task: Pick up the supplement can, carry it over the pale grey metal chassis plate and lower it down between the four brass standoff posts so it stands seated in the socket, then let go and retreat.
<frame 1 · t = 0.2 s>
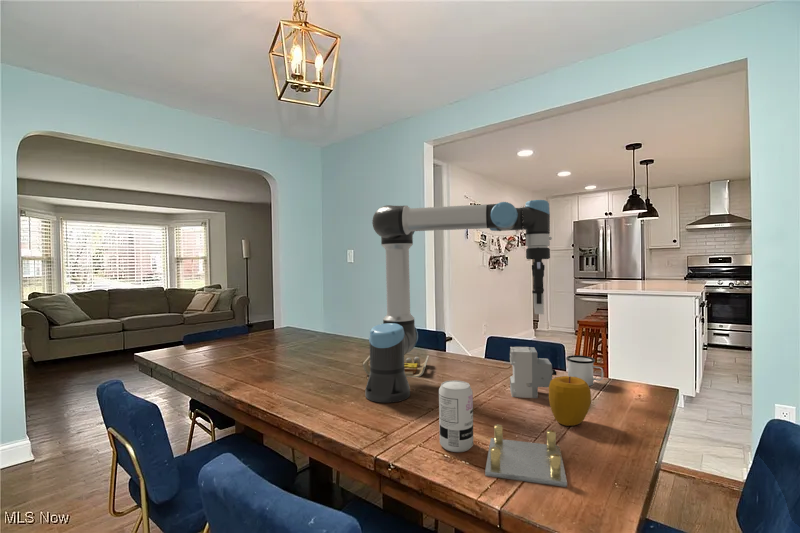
hand: (538, 311, 132), 28 cm above the table, fingers open, 13 cm apart
circuit breaker: (533, 394, 133), on the table
toy food set: (397, 371, 165), on the table
mug: (584, 384, 143), on the table
supplement can: (456, 446, 98), on the table
chassis: (524, 462, 89), on the table
apple: (569, 423, 109), on the table
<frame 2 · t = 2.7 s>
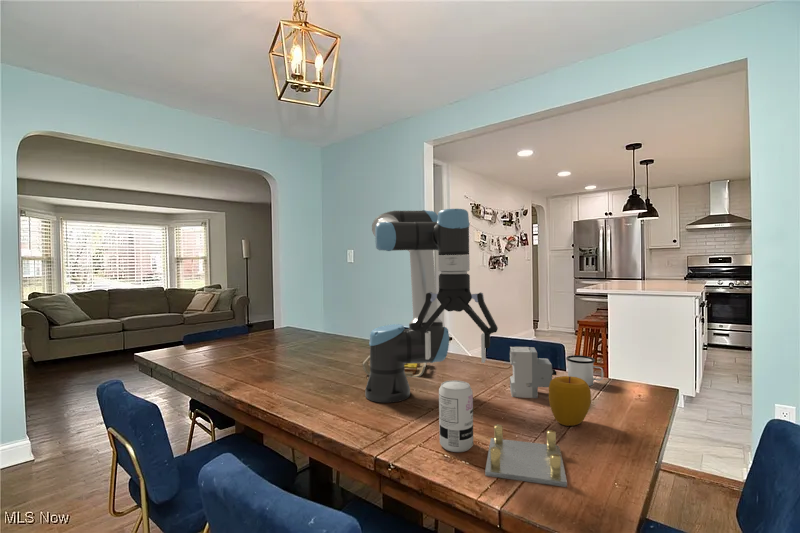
hand: (455, 359, 97), 21 cm above the table, fingers open, 13 cm apart
nothing on the table moved.
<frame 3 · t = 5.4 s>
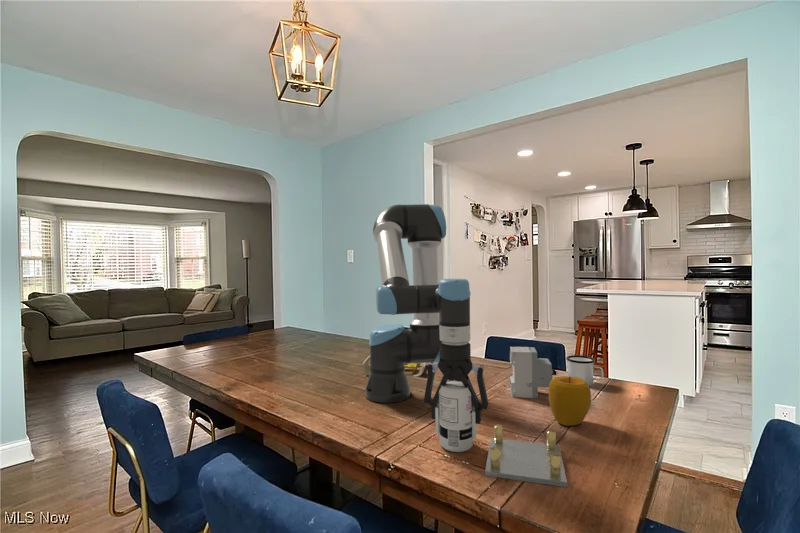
hand: (456, 434, 97), 3 cm above the table, fingers closed on supplement can, 8 cm apart
supplement can: (456, 446, 98), on the table, touching gripper
everything else where it was.
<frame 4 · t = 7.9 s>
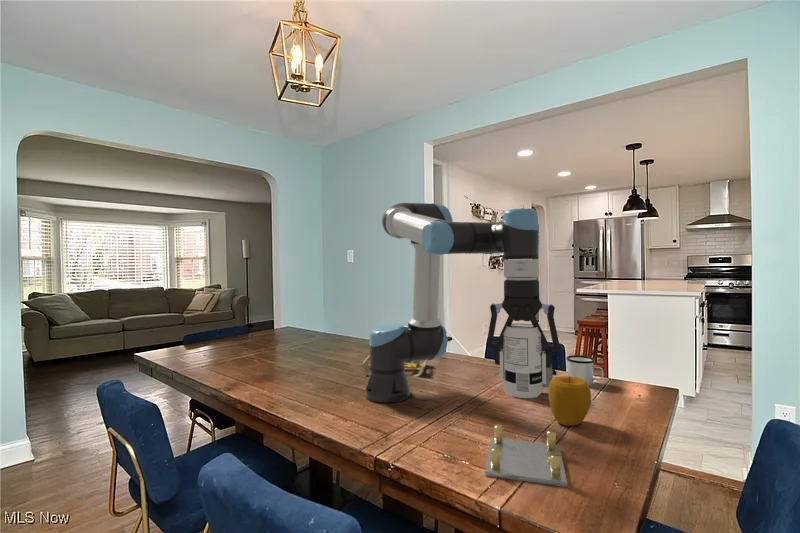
hand: (522, 380, 89), 18 cm above the table, fingers closed on supplement can, 8 cm apart
supplement can: (522, 393, 89), point 15 cm above the table, touching gripper
everything else where it was.
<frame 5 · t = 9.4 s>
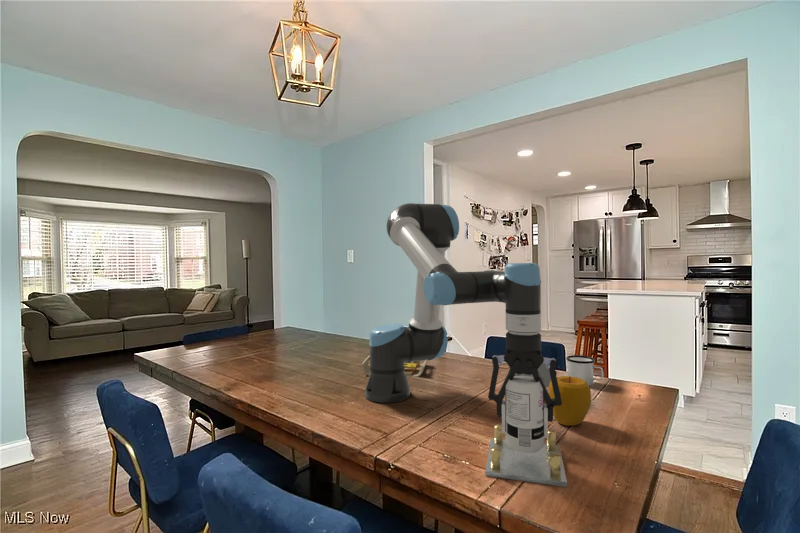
hand: (524, 433, 89), 7 cm above the table, fingers closed on supplement can, 8 cm apart
supplement can: (524, 446, 89), point 4 cm above the table, touching gripper
everything else where it was.
when the fingers open (5 cm above the table, at t = 10.5 s): supplement can drops 1 cm, resting on chassis.
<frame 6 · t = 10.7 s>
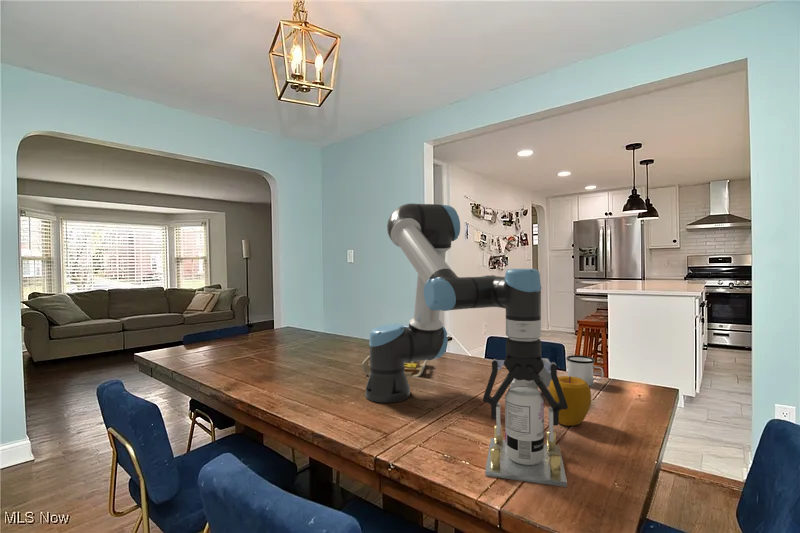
hand: (524, 436, 89), 6 cm above the table, fingers open, 10 cm apart
supplement can: (524, 458, 89), point 1 cm above the table, touching chassis
everything else where it was.
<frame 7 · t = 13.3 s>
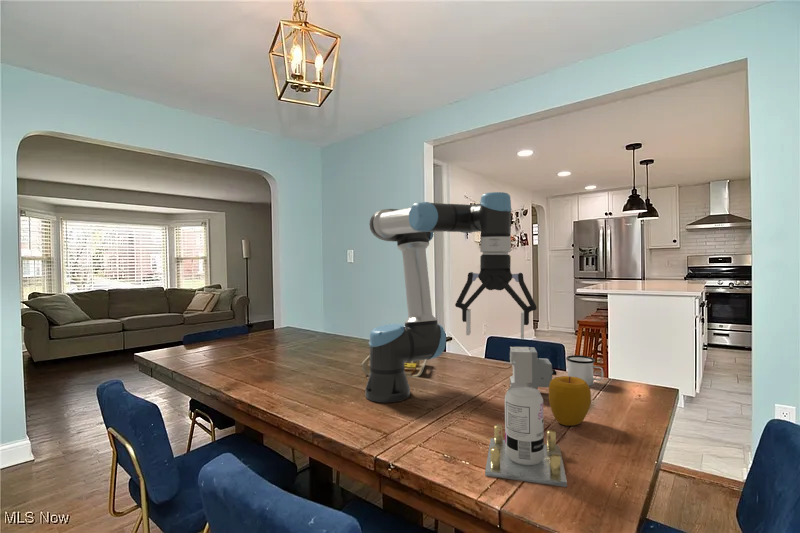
hand: (494, 336, 103), 26 cm above the table, fingers open, 13 cm apart
nothing on the table moved.
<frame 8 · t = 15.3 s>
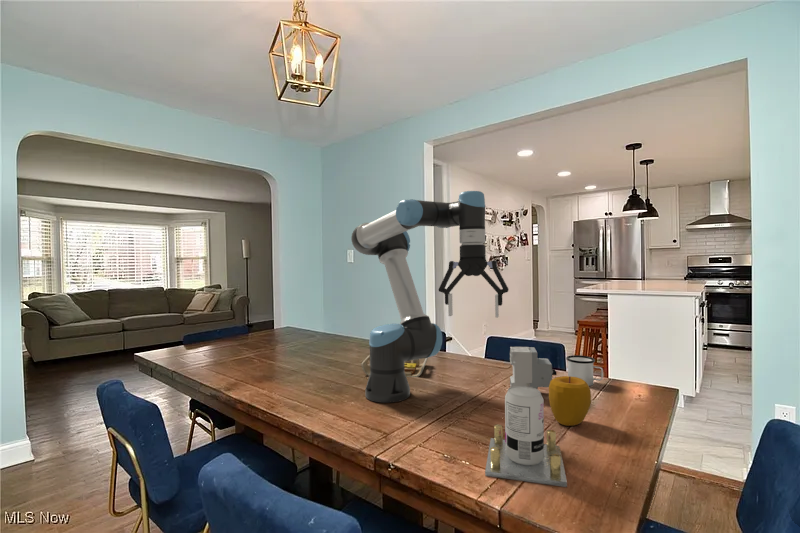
hand: (473, 316, 117), 29 cm above the table, fingers open, 13 cm apart
nothing on the table moved.
at the end: supplement can 0.0 cm off-centre on the chassis, point 0.8 cm above the chassis's base; supplement can tilted 0°; the gripper is holding nothing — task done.
